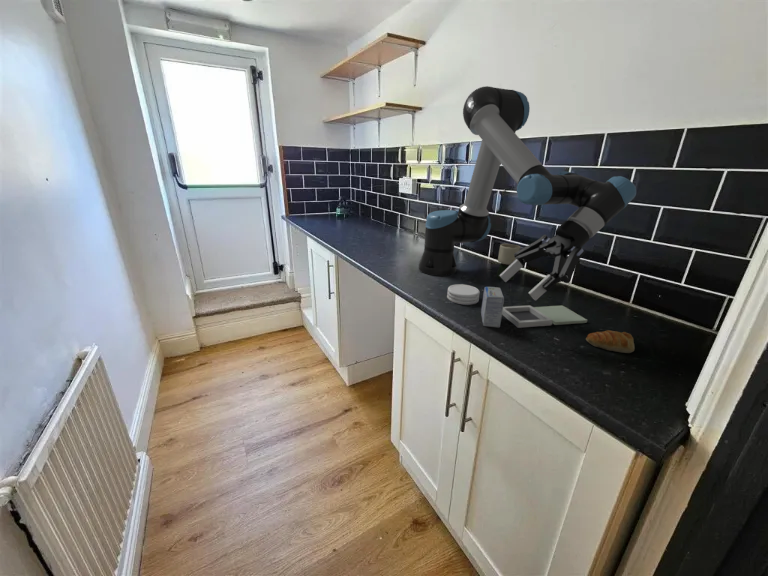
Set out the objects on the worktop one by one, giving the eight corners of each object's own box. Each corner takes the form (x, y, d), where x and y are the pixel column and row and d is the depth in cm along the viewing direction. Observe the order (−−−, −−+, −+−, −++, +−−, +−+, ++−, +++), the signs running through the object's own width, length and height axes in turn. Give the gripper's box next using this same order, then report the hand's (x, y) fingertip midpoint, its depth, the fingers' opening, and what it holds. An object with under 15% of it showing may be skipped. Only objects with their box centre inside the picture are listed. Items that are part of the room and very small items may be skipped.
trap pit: (498, 311, 95) (499, 307, 95) (529, 309, 97) (530, 305, 96) (518, 327, 86) (519, 322, 85) (551, 325, 88) (552, 320, 87)
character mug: (521, 283, 119) (528, 249, 114) (504, 284, 117) (510, 249, 113) (505, 274, 129) (510, 242, 124) (488, 275, 127) (493, 242, 123)
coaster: (441, 295, 107) (442, 285, 106) (467, 292, 110) (468, 282, 109) (457, 307, 98) (458, 296, 97) (485, 303, 101) (486, 293, 100)
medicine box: (499, 328, 86) (505, 298, 82) (482, 326, 86) (486, 296, 83) (496, 315, 93) (501, 287, 90) (480, 313, 94) (484, 285, 91)
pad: (532, 309, 97) (532, 307, 97) (561, 307, 99) (562, 305, 99) (554, 325, 88) (555, 322, 88) (586, 322, 90) (587, 320, 90)
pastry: (591, 350, 76) (595, 336, 75) (580, 337, 83) (584, 323, 81) (635, 355, 75) (640, 340, 74) (621, 341, 81) (625, 327, 80)
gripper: (626, 250, 73) (554, 315, 76) (552, 230, 96) (499, 280, 99) (613, 227, 71) (538, 296, 73) (540, 212, 93) (485, 264, 96)
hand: (516, 287), depth 86 cm, fingers open, 13 cm apart
